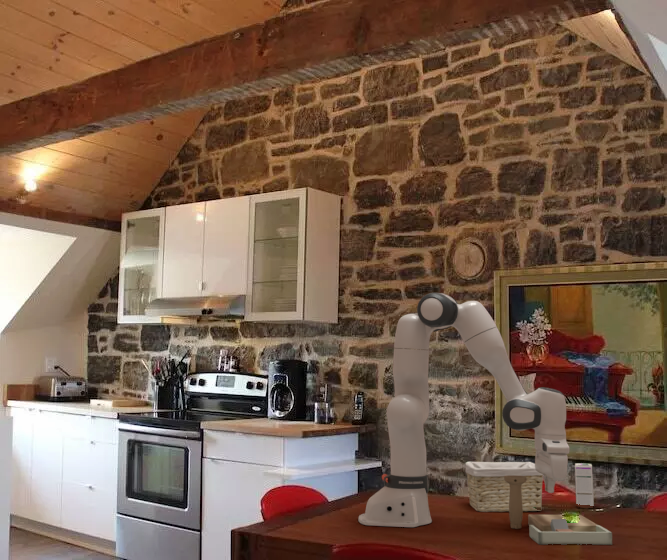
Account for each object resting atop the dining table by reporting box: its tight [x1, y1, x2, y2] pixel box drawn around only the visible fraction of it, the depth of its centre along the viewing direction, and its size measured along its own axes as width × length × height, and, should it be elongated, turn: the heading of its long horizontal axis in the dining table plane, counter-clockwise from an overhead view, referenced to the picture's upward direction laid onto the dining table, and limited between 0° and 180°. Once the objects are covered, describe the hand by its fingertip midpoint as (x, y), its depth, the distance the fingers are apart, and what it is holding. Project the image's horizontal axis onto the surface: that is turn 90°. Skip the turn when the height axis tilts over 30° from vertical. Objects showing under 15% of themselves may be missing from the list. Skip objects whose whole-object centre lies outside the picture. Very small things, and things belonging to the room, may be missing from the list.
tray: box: [528, 524, 613, 546], centre depth 220 cm, size 20×10×3 cm, turn 91°
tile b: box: [550, 519, 569, 532], centre depth 224 cm, size 4×4×2 cm
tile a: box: [556, 529, 574, 532], centre depth 219 cm, size 4×4×2 cm
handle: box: [504, 475, 526, 530], centre depth 237 cm, size 5×6×15 cm
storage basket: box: [464, 461, 544, 513], centre depth 269 cm, size 24×16×15 cm
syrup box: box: [574, 462, 595, 507], centre depth 271 cm, size 6×6×14 cm
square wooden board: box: [527, 514, 598, 532], centre depth 234 cm, size 16×16×3 cm
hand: (549, 492), depth 231 cm, fingers closed
